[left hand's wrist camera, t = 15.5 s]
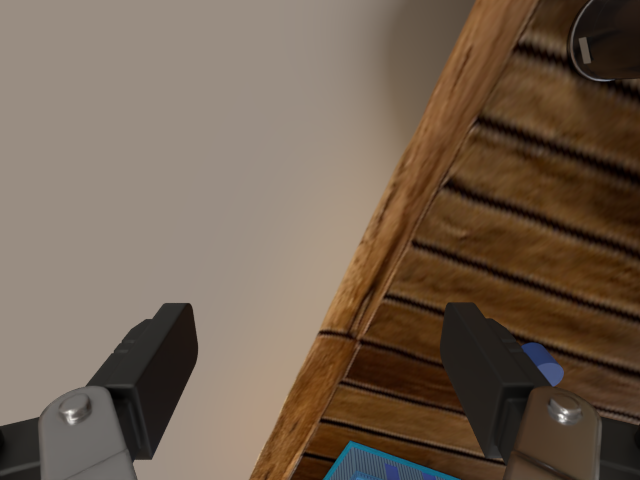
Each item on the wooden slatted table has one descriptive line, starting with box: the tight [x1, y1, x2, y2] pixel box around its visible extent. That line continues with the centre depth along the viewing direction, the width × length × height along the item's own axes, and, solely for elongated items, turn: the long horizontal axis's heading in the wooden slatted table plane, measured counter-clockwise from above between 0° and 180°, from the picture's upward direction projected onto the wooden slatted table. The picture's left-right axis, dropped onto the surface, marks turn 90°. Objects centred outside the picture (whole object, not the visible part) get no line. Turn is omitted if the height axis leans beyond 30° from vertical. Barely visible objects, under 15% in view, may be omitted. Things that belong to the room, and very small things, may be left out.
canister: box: [521, 343, 563, 386], centre depth 55 cm, size 5×5×5 cm
